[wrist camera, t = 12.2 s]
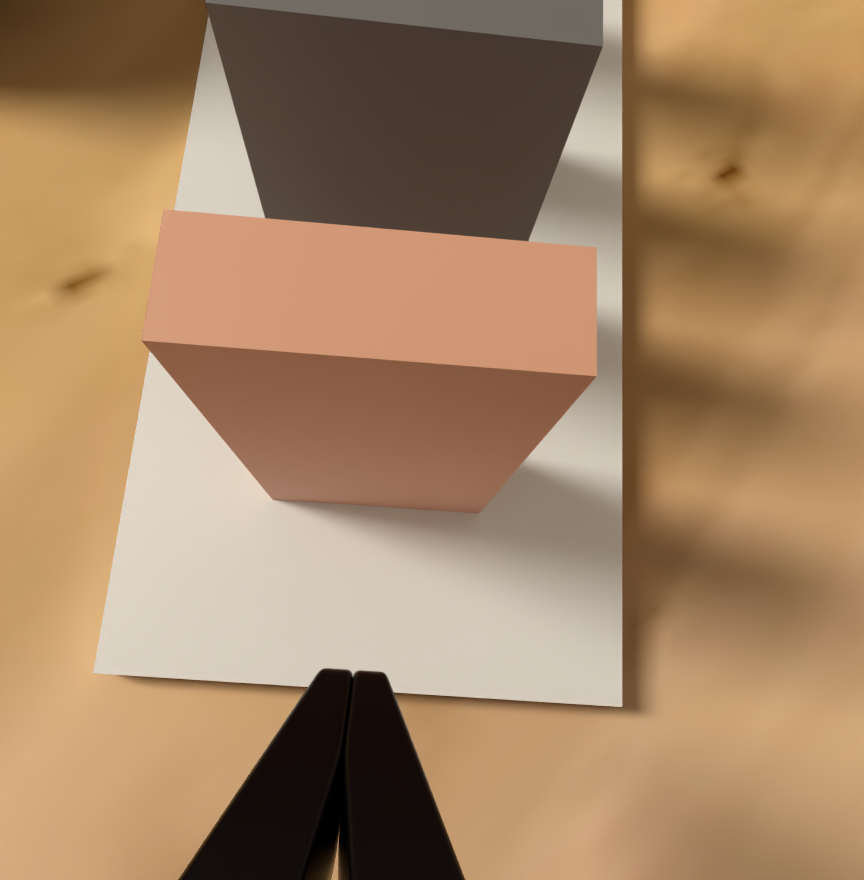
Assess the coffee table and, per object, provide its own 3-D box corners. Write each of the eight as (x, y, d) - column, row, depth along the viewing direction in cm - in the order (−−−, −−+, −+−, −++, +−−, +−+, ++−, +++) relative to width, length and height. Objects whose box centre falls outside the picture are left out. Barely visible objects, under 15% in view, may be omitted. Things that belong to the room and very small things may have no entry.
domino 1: (489, 343, 19) (602, 46, 9) (295, 326, 19) (205, 2, 9) (492, 286, 19) (603, -55, 10) (302, 269, 19) (223, -98, 9)
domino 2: (479, 513, 18) (596, 376, 8) (272, 499, 18) (141, 340, 8) (481, 449, 18) (596, 247, 9) (279, 435, 18) (163, 209, 8)
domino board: (611, 703, 18) (621, 707, 17) (105, 671, 17) (93, 673, 16) (614, -77, 24) (622, -101, 23) (241, -121, 23) (236, -148, 22)
